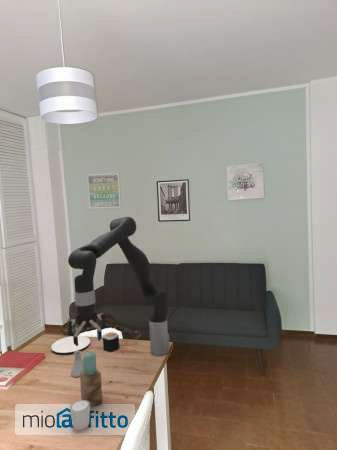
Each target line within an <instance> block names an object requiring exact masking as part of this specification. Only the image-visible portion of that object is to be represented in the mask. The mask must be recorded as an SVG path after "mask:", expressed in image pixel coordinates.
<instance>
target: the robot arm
mask: <svg viewBox="0 0 337 450" xmlns="http://www.w3.org/2000/svg"><path fill="white" fill-rule="evenodd" d="M109 230H110V231H108V232H105V233H103V234H101V235H99V236H98V237H96V238H95V239H93V240H91V242H89V243H87V244H85V245H83V246H79V248H76V249H74V250H73V251H71V253H70V254H69V255H68V259H67V262H68V265H69V266H70V267H71V269H75V270H82V273H81V274H78V275H76V276H74V277H75V278H74V284H73V285H74V305H75V307H74V308H75V318H74V319H73V318H72V319H71V318H69V319H67V334H68V337H71V336H73V340H74V344H75V345H76V346H78V336H79V334H80V332H81V330H85V329H87V328H88V329H89V328H90V329H91V328H92V327H94V328H95V329H96V336H97V337H96V338H97V341H101V339H102V340H103V334H102V333H103V332H102V331H103V330H104V329H106V328H107V325H106V324H107V323H106V316H105V314H104V313H103V312H100V313H98V314H97V307H96V306H97V305H96V294H95V293H96V292H95V286H94V279H95V278H94V277H95V271H96V267H97V260H98V259H99V258H101V257H102V256H103V255H105V254H106V253H107V252H108V251H109V250H111V249H112V248H113V247H114V246H116V245H117V244H118V246H119V248H120V249H121V252H122V253H123V255H124V256H125V258H126V261H127V263H128V265H129V267H130V268H131V271H132V273H133V275H134V277H135V279H136V281H137V282H138V285H139V287H140V290H141V292H142V295H143V297H144V300H145V302H146V304H148V305H149V306H151V307H153V312H151V313H149V316H148V320H149V321H148V324H149V326H148V327H149V343H150V344H149V346H150V354H151V355H153V356H155V357H156V356H157V357H162V356H165V355H167V354H168V353H170V352H171V350H170V349H171V347H170V346H171V344H170V334H169V333H168V315H169V295H168V293H167V291H166V290H164V289H160V288H157V287H156V286H155V284H154V282H153V281H152V277H151V274H152V267H151V263H150V262H149V259H148V257H147V255H146V254H145V253H144V252H143V251H142V250H141V249H140V248H138V247H137V246H136V245H135V244H133V243H132V242H131V240H130V239H129V237H131V236H133V235H134V234H135V233H136V231H137V224H136V219H134V218H133V217H131V216H124V217H119V218H118V217H117V218H115V219H112V220H111V221H110V223H109ZM98 319H99V320H100V322H101V323H100V325H98V323H97V322H96V321H97V320H98ZM74 324H76V326H75V328H74V329H73V326H74Z"/></svg>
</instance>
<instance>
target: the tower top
mask: <svg viewBox="0 0 337 450" xmlns="http://www.w3.org/2000/svg"><path fill="white" fill-rule="evenodd" d="M96 371H97V372H96V373H95V374H94V375H91V376H85V375H84V374H83V371H82V372H80V377H79V379H80V389H81V388H82V389H83V390H84V391H85V392H86V393H87V394H88V393H90V392H92V391H95V390H97V389H99V388H101V389H102V373H101V371H99V369H97V368H96Z"/></svg>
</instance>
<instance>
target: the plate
mask: <svg viewBox="0 0 337 450" xmlns="http://www.w3.org/2000/svg"><path fill="white" fill-rule="evenodd" d="M77 336H78V346H76V345H75V344H74V340H73V336H71V337H70V336H67V337H62V338H59V339H57V340H56V341H54V342H53V343H52V345H51V347H50V349H51V351H53V352H54V353H57V354H70V353H74V352H76V351H81V350H83V349H85V348H87V347H88V346H89V345H90V344H91V339H90V338H89V337H88V336H85V335H77Z"/></svg>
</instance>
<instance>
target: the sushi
mask: <svg viewBox="0 0 337 450" xmlns="http://www.w3.org/2000/svg"><path fill="white" fill-rule="evenodd" d="M119 335H120V334H118V333H117V332H112V331H110V332H107V333H106V332H105V334H102V346H103V347H102V348H103V351H104V352H108V353H113V352H116V351H118V350H119V349H120V337H119Z"/></svg>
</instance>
